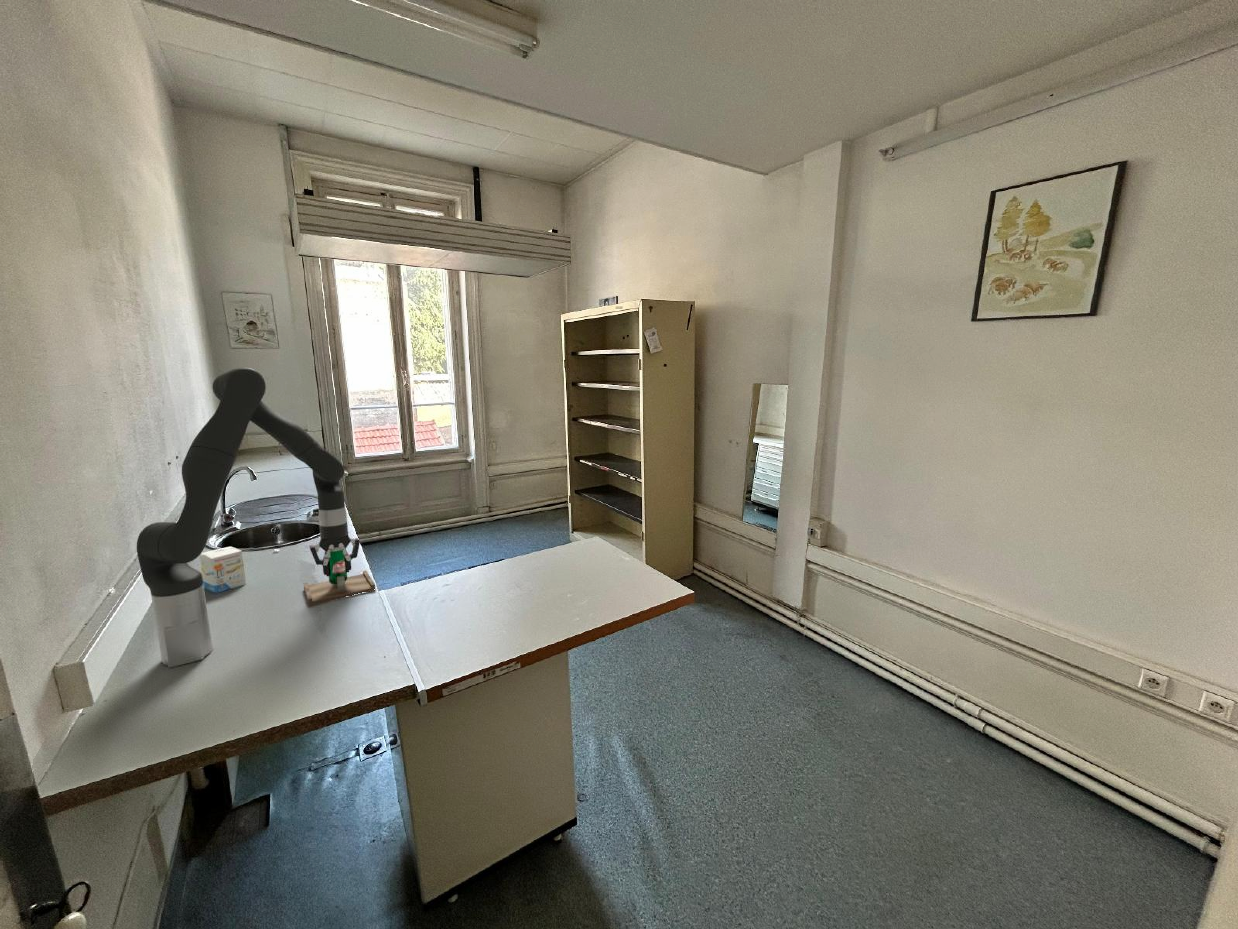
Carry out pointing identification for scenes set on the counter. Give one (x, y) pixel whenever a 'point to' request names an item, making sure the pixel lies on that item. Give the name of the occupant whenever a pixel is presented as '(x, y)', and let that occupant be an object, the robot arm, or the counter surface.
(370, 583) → the tray
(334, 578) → the soda can
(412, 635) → the counter surface
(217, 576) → the ink box
